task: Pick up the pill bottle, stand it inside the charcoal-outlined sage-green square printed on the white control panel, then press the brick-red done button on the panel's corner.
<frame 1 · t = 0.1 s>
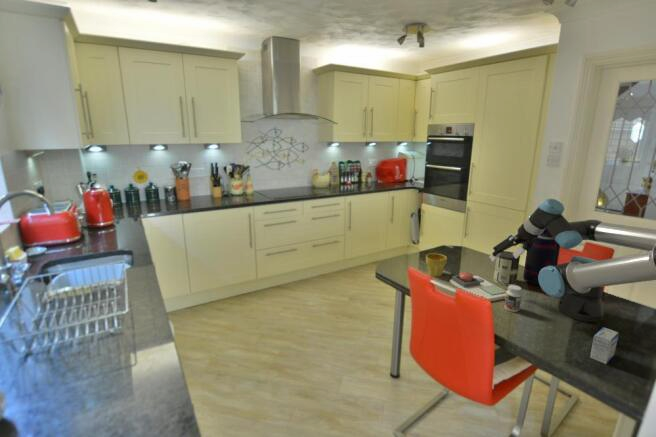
hand: (503, 257, 158), 15 cm above the table, tool tilted 35°, fingers open, 13 cm apart
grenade: (538, 282, 168), on the table
done button: (466, 277, 163), point 4 cm above the table, slide at 0.0 cm
medicine box: (601, 357, 112), on the table
pill bottle: (511, 309, 142), on the table
coffee can: (504, 281, 169), on the table
white control panel: (479, 289, 160), on the table
plant pot: (434, 274, 178), on the table
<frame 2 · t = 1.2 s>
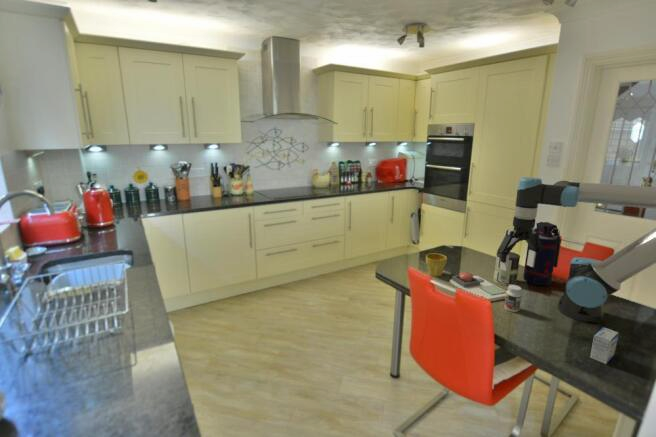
hand: (517, 267, 138), 18 cm above the table, tool pointing down, fingers open, 13 cm apart
nothing on the table moved.
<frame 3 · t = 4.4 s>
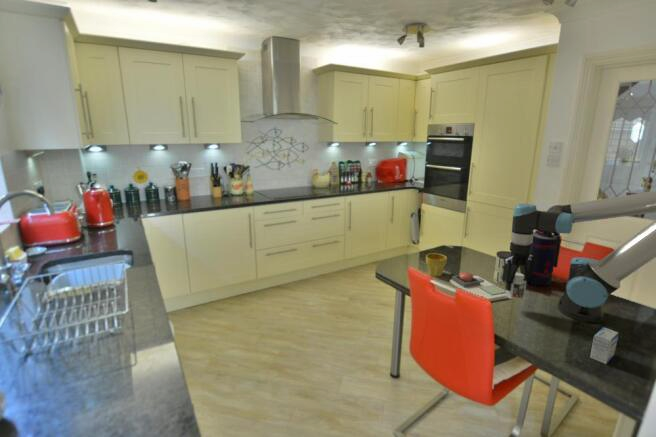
hand: (515, 296, 140), 6 cm above the table, tool pointing down, fingers closed on pill bottle, 6 cm apart
pill bottle: (515, 297, 141), point 5 cm above the table, touching gripper
everything else where it was.
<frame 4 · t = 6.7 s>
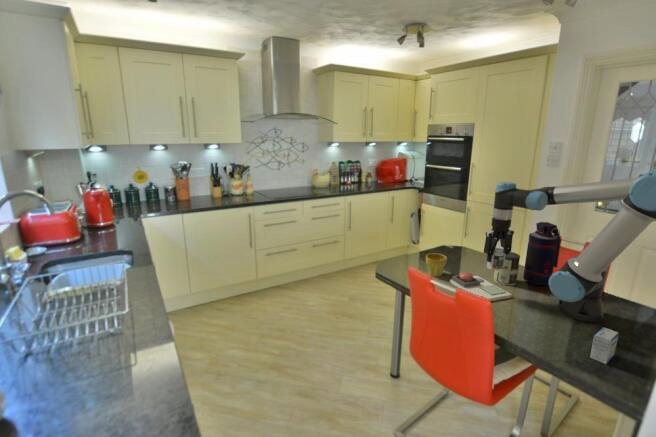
hand: (495, 267, 153), 13 cm above the table, tool pointing down, fingers closed on pill bottle, 6 cm apart
pill bottle: (495, 268, 153), point 12 cm above the table, touching gripper
everything else where it was.
when the fingers open (2 cm above the table, at t = 9.1 s): pill bottle stays where it is, resting on white control panel.
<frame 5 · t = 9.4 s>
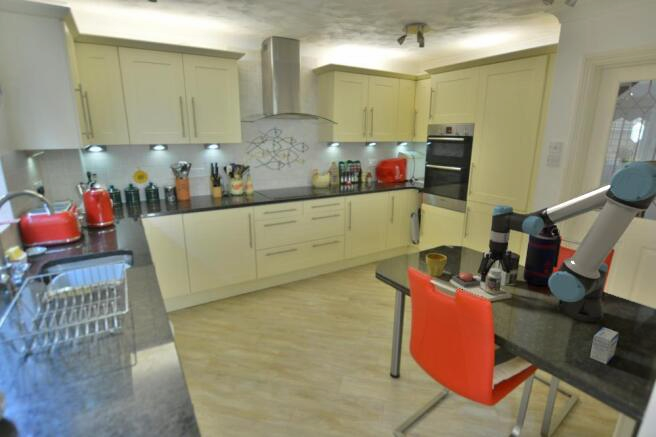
hand: (493, 286, 155), 3 cm above the table, tool pointing down, fingers open, 10 cm apart
pill bottle: (492, 290, 156), point 2 cm above the table, touching white control panel
everything else where it was.
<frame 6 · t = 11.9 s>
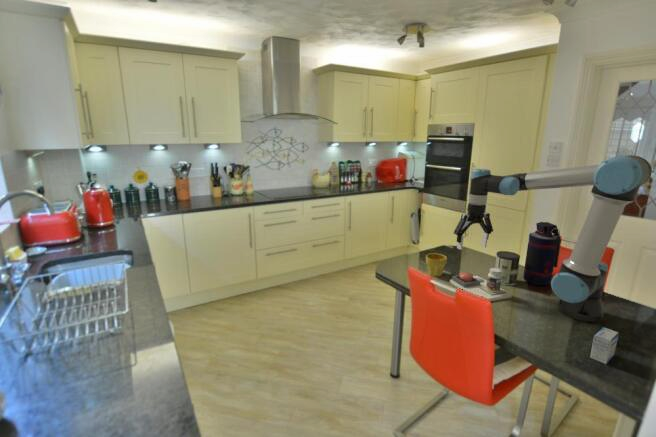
hand: (471, 247, 159), 19 cm above the table, tool pointing down, fingers open, 13 cm apart
nothing on the table moved.
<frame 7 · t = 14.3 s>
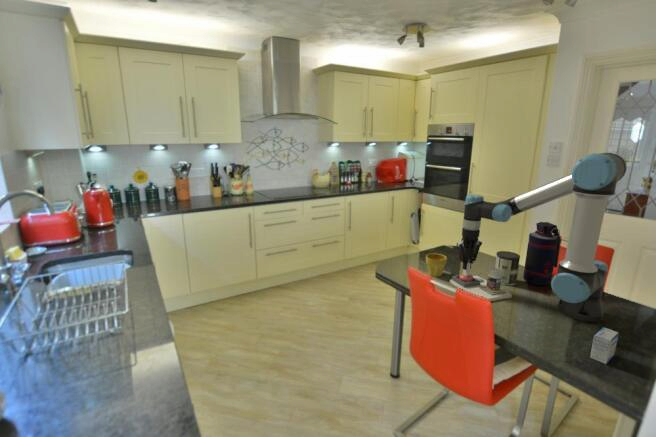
hand: (465, 275, 163), 5 cm above the table, tool pointing down, fingers closed
done button: (465, 278, 164), point 4 cm above the table, slide at 0.6 cm, touching gripper
everything else where it was.
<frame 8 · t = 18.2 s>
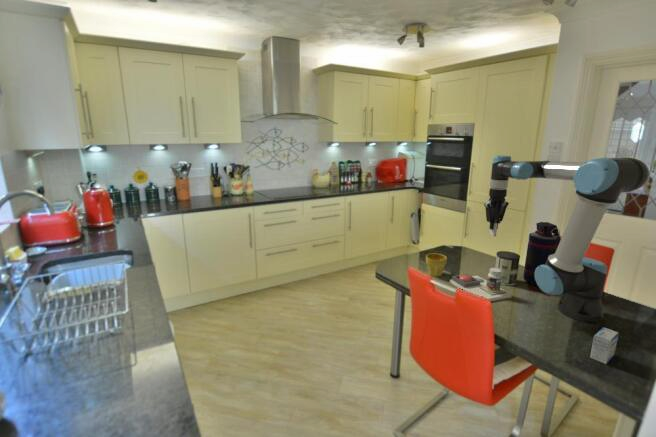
hand: (492, 235, 168), 22 cm above the table, tool pointing down, fingers closed
done button: (465, 279, 164), point 3 cm above the table, slide at 1.2 cm
everything else where it was.
at the end: pill bottle 0.1 cm from the target spot on the white control panel, point 1.5 cm above the white control panel's base; pill bottle tilted 0°; done button slide at 1.2 cm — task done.
